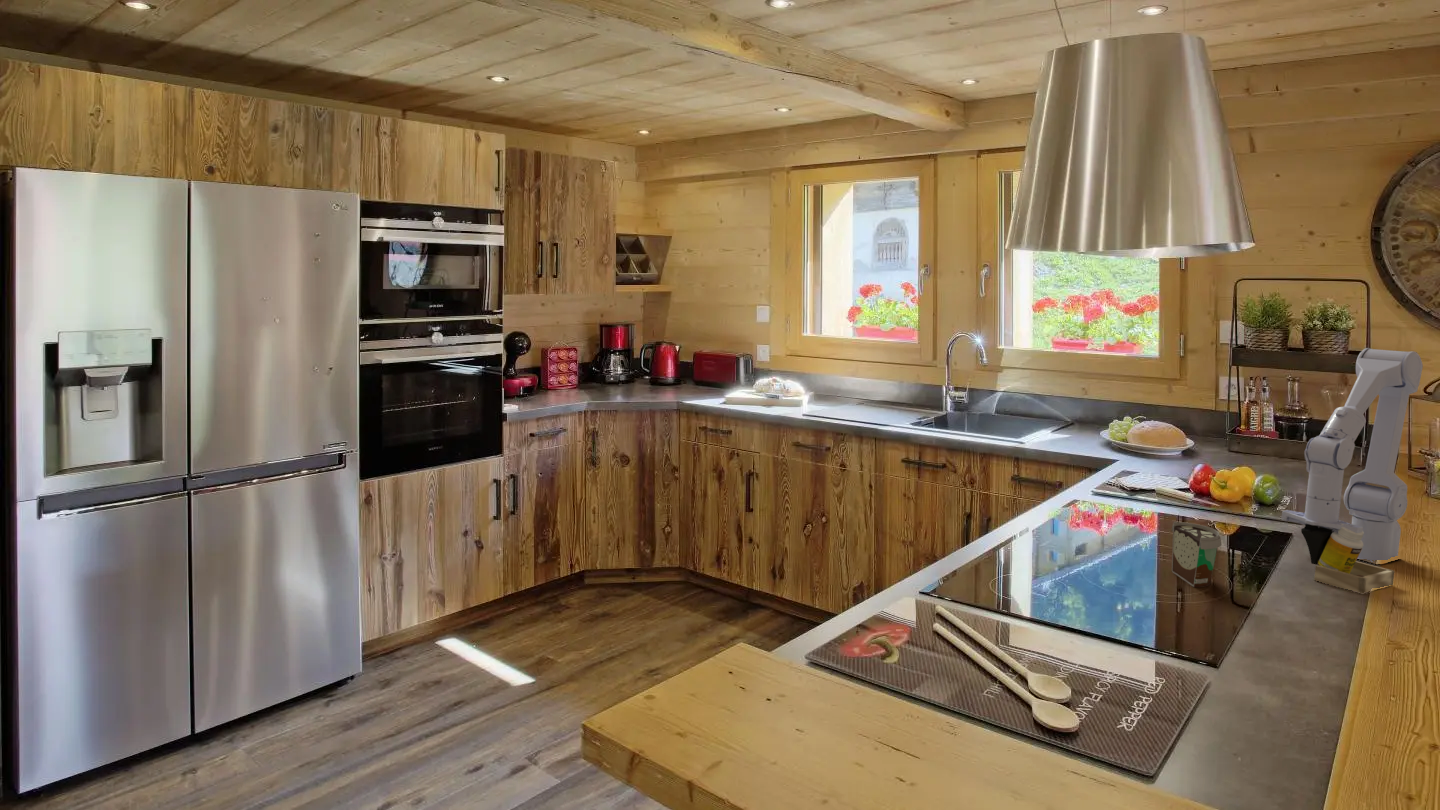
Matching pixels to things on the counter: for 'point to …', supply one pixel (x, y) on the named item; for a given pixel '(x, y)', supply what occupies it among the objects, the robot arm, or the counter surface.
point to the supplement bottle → (1342, 550)
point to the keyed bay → (1356, 577)
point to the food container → (1194, 552)
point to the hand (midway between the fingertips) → (1316, 563)
